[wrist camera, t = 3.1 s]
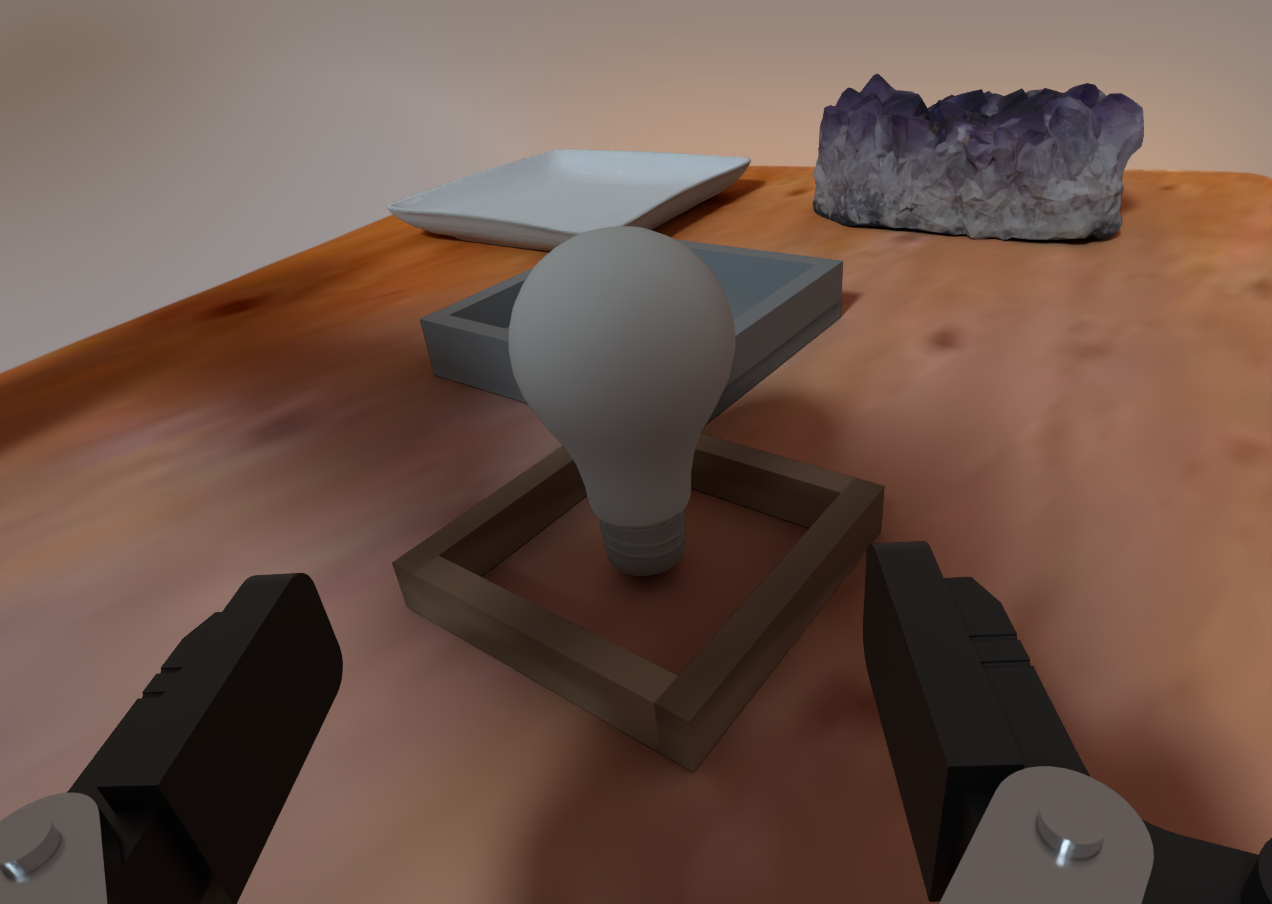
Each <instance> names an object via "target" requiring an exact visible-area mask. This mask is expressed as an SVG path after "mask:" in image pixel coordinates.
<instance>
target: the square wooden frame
mask: <svg viewBox="0 0 1272 904" xmlns="http://www.w3.org/2000/svg"><path fill="white" fill-rule="evenodd" d="M884 487H885V486H883V485H879V484H876V483H872V482H869V481H865V480H862V479H858V478H855V477H851V476H848V475H844V474H841V473H837V472H834V471H830V470H827V469H823V468H820V467H817V466H813V465H810V464H806V463H803V462H799V461H796V460H792V459H789V458H785V457H782V456H778V455H775V454H771V453H768V452H764V451H761V450H757V449H754V448H750V447H747V446H743V445H740V444H736V443H733V442H730V441H726V440H723V439H719V438H716V437H712V436H709V435H705V434H702V433H701V434H700V437H699V440H698V443H697V445H696V448H695V451H694V456H693V463H692V469H691V488H692V489H695V490H698V491H701V492H704V493H707V494H710V495H713V496H716V497H719V498H722V499H725V500H728V501H731V502H734V503H737V504H740V505H743V506H746V507H749V508H752V509H755V510H758V511H761V512H764V513H767V514H770V515H773V516H776V517H779V518H782V519H784V520H787V521H790V522H793V523H796V524H799V525H802V526H805V527H808V528H809V530H808V531H807V532H806V533H805V534H804V535H803V536H802V537H801V539H800V540H799V541H798V542H797V543H796V544H795V545H794V546H793V548H792V549H791V550H790V551H789V552H788V553H787V554H786V555H785V557H784V558H783V559H782V560H781V561H780V562H779V563H778V564H777V566H776V567H775V568H774V569H773V570H772V571H771V572H770V573H769V574H768V576H767V577H766V578H765V579H764V580H763V581H762V582H761V583H760V585H759V586H758V587H757V588H756V589H755V590H754V591H753V592H752V594H751V595H750V596H749V597H748V598H747V599H746V600H745V601H744V603H743V604H742V605H741V606H740V607H739V608H738V609H737V610H736V612H735V613H734V614H733V615H732V616H731V617H730V618H729V619H728V621H727V622H726V623H725V624H724V625H723V626H722V627H721V628H720V629H719V631H718V632H717V633H716V634H715V635H714V636H713V637H712V638H711V640H710V641H709V642H708V643H707V644H706V645H705V646H704V647H703V649H702V650H701V651H700V652H699V653H698V654H697V655H696V656H695V658H694V659H693V660H692V661H691V662H690V663H689V664H688V665H687V667H686V668H685V669H684V670H683V671H682V672H681V673H680V674H679V675H676V674H674V673H672V672H670V671H668V670H666V669H664V668H662V667H660V666H658V665H656V664H654V663H652V662H650V661H648V660H646V659H644V658H642V657H640V656H638V655H636V654H634V653H632V652H630V651H628V650H626V649H624V648H622V647H620V646H618V645H616V644H614V643H612V642H610V641H608V640H606V639H604V638H602V637H600V636H598V635H596V634H594V633H592V632H590V631H588V630H586V629H584V628H582V627H580V626H578V625H576V624H574V623H572V622H570V621H568V620H566V619H564V618H562V617H560V616H558V615H556V614H554V613H552V612H550V611H548V610H546V609H544V608H542V607H540V606H538V605H536V604H534V603H532V602H530V601H528V600H526V599H524V598H522V597H520V596H518V595H516V594H514V593H512V592H510V591H508V590H506V589H504V588H502V587H500V586H498V585H496V584H494V583H492V582H490V581H488V580H486V579H484V578H482V577H481V576H483V575H484V574H485V573H487V572H488V571H489V570H490V569H492V568H493V567H494V566H496V565H497V564H498V563H500V562H501V561H502V560H503V559H505V558H506V557H507V556H509V555H510V554H511V553H513V552H514V551H515V550H516V549H518V548H519V547H520V546H522V545H523V544H524V543H526V542H527V541H528V540H529V539H531V538H532V537H533V536H535V535H536V534H537V533H539V532H540V531H541V530H543V529H544V528H545V527H546V526H548V525H549V524H550V523H552V522H553V521H554V520H556V519H557V518H558V517H559V516H561V515H562V514H563V513H565V512H566V511H567V510H569V509H570V508H571V507H572V506H574V505H575V504H576V503H578V502H579V501H580V500H582V499H583V498H584V497H585V496H587V492H586V488H585V485H584V482H583V480H582V477H581V475H580V472H579V470H578V467H577V465H576V463H575V462H574V460H573V459H572V457H571V455H570V454H569V452H568V451H567V449H566V448H565V447H564V446H562V447H560V448H559V449H557V450H556V451H554V452H553V453H551V454H550V455H549V456H547V457H546V458H544V459H543V460H541V461H540V462H538V463H537V464H535V465H534V466H532V467H531V468H530V469H528V470H527V471H525V472H524V473H522V474H521V475H519V476H518V477H516V478H515V479H514V480H512V481H511V482H509V483H508V484H506V485H505V486H503V487H502V488H500V489H499V490H497V491H496V492H495V493H493V494H492V495H490V496H489V497H487V498H486V499H484V500H483V501H481V502H480V503H479V504H477V505H476V506H474V507H473V508H471V509H470V510H468V511H467V512H465V513H464V514H462V515H461V516H460V517H458V518H457V519H455V520H454V521H452V522H451V523H449V524H448V525H446V526H445V527H444V528H442V529H441V530H439V531H438V532H436V533H435V534H433V535H432V536H430V537H429V538H427V539H426V540H425V541H423V542H422V543H420V544H419V545H417V546H416V547H414V548H413V549H411V550H410V551H408V552H407V553H406V554H404V555H403V556H401V557H400V558H398V559H397V560H395V561H394V562H392V564H393V567H394V570H395V573H396V576H397V579H398V582H399V585H400V588H401V591H402V594H403V597H404V600H405V603H406V606H407V607H408V608H410V609H411V610H413V611H415V612H417V613H418V614H420V615H422V616H423V617H425V618H427V619H429V620H430V621H432V622H434V623H436V624H437V625H439V626H441V627H443V628H444V629H446V630H448V631H449V632H451V633H453V634H455V635H456V636H458V637H460V638H462V639H463V640H465V641H467V642H468V643H470V644H472V645H474V646H475V647H477V648H479V649H481V650H482V651H484V652H486V653H488V654H489V655H491V656H493V657H494V658H496V659H498V660H500V661H501V662H503V663H505V664H507V665H508V666H510V667H512V668H514V669H515V670H517V671H519V672H520V673H522V674H524V675H526V676H527V677H529V678H531V679H533V680H534V681H536V682H538V683H539V684H541V685H543V686H545V687H546V688H548V689H550V690H552V691H553V692H555V693H557V694H559V695H560V696H562V697H564V698H565V699H567V700H569V701H571V702H572V703H574V704H576V705H578V706H579V707H581V708H583V709H585V710H586V711H588V712H590V713H591V714H593V715H595V716H597V717H598V718H600V719H602V720H604V721H605V722H607V723H609V724H611V725H612V726H614V727H616V728H617V729H619V730H621V731H623V732H624V733H626V734H628V735H630V736H631V737H633V738H635V739H636V740H638V741H640V742H642V743H643V744H645V745H647V746H649V747H650V748H652V749H654V750H656V751H657V752H659V753H661V754H662V755H664V756H666V757H668V758H669V759H671V760H673V761H675V762H676V763H678V764H680V765H682V766H683V767H685V768H687V769H688V770H690V771H692V772H694V771H695V770H696V769H697V767H698V766H699V765H700V764H701V762H702V761H703V760H704V758H705V757H706V756H707V755H708V753H709V752H710V751H711V749H712V748H713V747H714V746H715V744H716V743H717V742H718V740H719V739H720V738H721V736H722V735H723V734H724V733H725V731H726V730H727V729H728V727H729V726H730V725H731V724H732V722H733V721H734V720H735V718H736V717H737V716H738V715H739V713H740V712H741V711H742V709H743V708H744V707H745V706H746V704H747V703H748V702H749V700H750V699H751V698H752V697H753V695H754V694H755V693H756V691H757V690H758V689H759V688H760V686H761V685H762V684H763V682H764V681H765V680H766V679H767V677H768V676H769V675H770V673H771V672H772V671H773V670H774V668H775V667H776V666H777V664H778V663H779V662H780V661H781V659H782V658H783V657H784V655H785V654H786V653H787V652H788V650H789V649H790V648H791V646H792V645H793V644H794V643H795V641H796V640H797V639H798V637H799V636H800V635H801V634H802V632H803V631H804V630H805V628H806V627H807V626H808V625H809V623H810V622H811V621H812V619H813V618H814V617H815V616H816V614H817V613H818V612H819V610H820V609H821V608H822V607H823V605H824V604H825V603H826V601H827V600H828V599H829V598H830V596H831V595H832V594H833V592H834V591H835V590H836V589H837V587H838V586H839V585H840V583H841V582H842V581H843V580H844V578H845V577H846V576H847V574H848V573H849V572H850V571H851V569H852V568H853V567H854V565H855V564H856V563H857V562H858V560H859V559H860V558H861V556H862V555H863V554H864V553H865V551H866V550H867V549H868V546H869V545H870V544H872V542H873V541H874V540H875V538H876V537H877V536H878V535H879V533H880V532H881V525H882V512H883V500H884Z"/></svg>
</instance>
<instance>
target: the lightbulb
mask: <svg viewBox="0 0 1272 904" xmlns="http://www.w3.org/2000/svg"><path fill="white" fill-rule="evenodd" d="M735 347H736V342H735V326H734V322H733V318H732V314H731V309H730V306H729V302H728V299H727V297H726V295H725V292H724V290H723V288H722V286H721V283H720V282H719V280H718V279H717V278H716V276H715V275H714V274H713V272H712V271H711V270H710V268H709V267H708V266H707V265H706V264H705V263H704V262H703V261H702V260H701V259H700V258H699V257H698V256H697V255H696V254H695V253H694V252H693V251H692V250H691V249H690V248H688V247H687V246H685V245H683V244H681V243H679V242H678V241H676V240H674V239H672V238H670V237H669V236H667V235H664V234H661V233H658V232H655V231H652V230H648V229H645V228H641V227H633V226H616V227H606V228H600V229H595V230H590V231H587V232H584V233H581V234H578V235H576V236H574V237H572V238H571V239H569V240H567V241H565V242H564V243H562V244H560V245H559V246H557V247H556V248H554V249H553V250H552V251H551V252H550V253H548V254H547V255H546V256H545V257H544V258H543V259H542V260H541V261H540V262H538V264H537V265H536V266H535V267H534V268H533V270H532V271H531V273H530V274H529V276H528V277H527V279H526V280H525V282H524V283H523V285H522V288H521V290H520V292H519V294H518V297H517V299H516V301H515V304H514V306H513V309H512V315H511V320H510V325H509V354H510V360H511V365H512V370H513V375H514V378H515V380H516V382H517V384H518V386H519V388H520V391H521V393H522V395H523V397H524V399H525V400H526V401H527V403H528V404H529V406H530V407H531V408H532V410H533V411H534V412H535V413H536V415H537V416H538V417H539V418H540V420H541V421H542V422H543V424H544V425H545V426H546V427H547V429H548V430H549V431H550V432H551V433H552V434H553V435H554V436H555V437H556V438H557V439H558V440H559V441H560V443H561V444H562V445H563V446H564V447H565V448H566V449H567V451H568V452H569V454H570V455H571V457H572V459H573V460H574V462H575V463H576V465H577V467H578V470H579V472H580V475H581V477H582V480H583V482H584V485H585V488H586V492H587V497H588V501H589V505H590V507H591V509H592V511H593V512H594V514H595V515H596V516H597V517H598V518H599V520H600V527H601V531H602V537H603V541H604V543H605V544H604V546H605V550H606V553H607V556H608V559H609V561H610V563H611V564H612V565H613V566H614V567H615V568H617V569H618V570H620V571H622V572H624V573H626V574H629V575H634V576H652V575H657V574H660V573H663V572H665V571H667V570H669V569H670V568H672V567H673V566H674V565H675V564H676V563H677V562H678V561H679V560H680V559H681V558H682V556H683V554H684V550H685V535H686V533H685V517H684V509H685V507H686V506H687V504H688V502H689V499H690V495H691V469H692V463H693V456H694V451H695V448H696V445H697V443H698V440H699V437H700V434H701V431H702V430H703V428H704V426H705V425H706V423H707V421H708V419H709V418H710V416H711V414H712V413H713V411H714V409H715V407H716V405H717V403H718V401H719V399H720V397H721V395H722V393H723V390H724V388H725V386H726V384H727V382H728V380H729V376H730V372H731V367H732V362H733V357H734V352H735Z"/></svg>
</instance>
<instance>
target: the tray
mask: <svg viewBox="0 0 1272 904" xmlns="http://www.w3.org/2000/svg"><path fill="white" fill-rule="evenodd" d="M676 241H678V242H679V243H681V244H683V245H685V246H687V247H688V248H690V249H691V250H692V251H693V252H694V253H695V254H696V255H697V256H698V257H699V258H700V259H701V260H702V261H703V262H704V263H705V264H706V265H707V266H708V267H709V268H710V270H711V271H712V272H713V274H714V275H715V276H716V278H717V279H718V280H719V282H720V283H721V286H722V288H723V290H724V292H725V295H726V297H727V299H728V302H729V306H730V309H731V314H732V318H733V322H734V326H735V342H736V347H735V352H734V357H733V362H732V367H731V372H730V376H729V380H728V382H727V384H726V386H725V388H724V390H723V393H722V395H721V397H720V399H719V401H718V403H717V405H716V407H715V409H714V411H713V413H712V414H711V416H710V418H709V419H708V421H707V423H708V422H710V421H711V420H712V419H714V418H715V417H716V416H717V415H719V414H720V413H721V412H722V411H724V410H725V409H726V408H727V407H729V406H730V405H731V404H732V403H734V402H735V401H736V400H737V399H739V398H740V397H741V396H742V395H744V394H745V393H746V392H747V391H749V390H750V389H751V388H752V387H754V386H755V385H756V384H757V383H759V382H760V381H761V380H762V379H764V378H765V377H766V376H767V375H769V374H770V373H771V372H772V371H774V370H775V369H776V368H777V367H779V366H780V365H781V364H782V363H784V362H785V361H786V360H787V359H789V358H790V357H791V356H792V355H794V354H795V353H796V352H797V351H799V350H800V349H801V348H802V347H804V346H805V345H806V344H807V343H809V342H810V341H811V340H812V339H814V338H815V337H816V336H817V335H819V334H820V333H821V332H822V331H824V330H825V329H826V328H827V327H829V326H830V325H831V324H832V323H834V322H835V321H836V320H837V319H839V318H840V317H841V301H842V275H843V261H840V260H832V259H824V258H816V257H809V256H801V255H793V254H785V253H777V252H769V251H761V250H753V249H745V248H737V247H730V246H722V245H714V244H706V243H698V242H690V241H682V240H676ZM532 270H533V268H532V269H529V270H527V271H525V272H523V273H521V274H518V275H516V276H514V277H512V278H510V279H507V280H505V281H503V282H501V283H499V284H496V285H494V286H492V287H490V288H488V289H485V290H483V291H481V292H479V293H476V294H474V295H472V296H470V297H468V298H465V299H463V300H461V301H459V302H457V303H454V304H452V305H450V306H448V307H446V308H443V309H441V310H439V311H437V312H435V313H432V314H430V315H428V316H426V317H423V318H421V319H420V322H421V326H422V330H423V334H424V338H425V342H426V346H427V350H428V354H429V358H430V362H431V365H432V369H433V373H434V375H437V376H440V377H443V378H446V379H450V380H453V381H456V382H459V383H463V384H466V385H469V386H472V387H476V388H479V389H482V390H485V391H489V392H492V393H495V394H499V395H502V396H505V397H508V398H512V399H515V400H518V401H521V402H525V403H527V401H526V400H525V399H524V397H523V395H522V393H521V391H520V388H519V386H518V384H517V382H516V380H515V378H514V375H513V370H512V365H511V360H510V354H509V325H510V320H511V315H512V309H513V306H514V304H515V301H516V299H517V297H518V294H519V292H520V290H521V288H522V285H523V283H524V282H525V280H526V279H527V277H528V276H529V274H530V273H531V271H532ZM707 423H706V424H707Z"/></svg>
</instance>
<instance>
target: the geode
mask: <svg viewBox="0 0 1272 904" xmlns="http://www.w3.org/2000/svg"><path fill="white" fill-rule="evenodd" d="M1143 137H1144V120H1143V109H1142V107H1141V106H1139V105H1138V104H1137V103H1136V102H1134V101H1133V100H1131V99H1130V98H1129V97H1127V96H1125V95H1123V94H1121V93H1120V94H1119V93H1117V94H1109V95H1107V96H1106V95H1105V94H1104V93H1103V92H1102V91H1100V90H1099V89H1098V88H1097V87H1096V86H1095V85H1093V84H1089V83H1086V84H1082V85H1079V86H1075V87H1073V88H1071V89H1069V90H1068V91H1067V92H1066V93H1060V92H1057V91H1054V90H1051V89H1047V88H1044V89H1043V90H1031V91H1028V92H1026V93H1025V92H1024V90H1023V89H1020V90H1018V91H1015V92H1013V93H1011V94H1008V95H1006V96H1002V95H999V94H995V93H994V94H992V93H991V92H989V91H988V92H986V93H983V91H982V89H981V90H976V91H971V92H967V93H963V94H960V95H957V96H953V95H950V96H948V97H946V98H944V99H943V100H939V101H938V102H937V103H936V104H934V105H932V106H931V107H929V108H927V107H926V105H925V103H924V102H923V100H922V98H921V97H920V95H919V94H915V93H913V92H909V91H900V90H895V89H894V88H892V87H891V86H890V85H889V84H888V83H887V82H886V81H885V80H884V79H883V78H882V77H881V76H880V75H879V74H875V75H874V76H873V77H872V78H871V79H870V81H869V82H868V83H867V84H866V86H865V87H864V88H863V89H862V91H861V92H860V93H859V92H857V91H856V90H854V89H852V88H847V89H846V90H845V91H844V92H843V93H842V94H841V97H840V98H839V100H838V102H837V104H836V106H831V105H830V106H827V107H825V108H824V114H823V119H822V122H821V125H820V136H819V148H818V149H819V156H818V160H817V163H816V168H815V170H814V172H813V174H814V178H815V181H816V190H815V197H814V201H813V208H814V211H815V212H816V213H817V214H818V215H820V216H822V217H824V218H827V219H829V220H832V221H835V222H837V223H839V224H842V225H847V226H858V225H865V226H880V227H886V228H910V229H915V230H921V231H928V232H939V233H945V234H950V235H968V236H969V237H971V238H974V239H980V240H982V239H986V238H996V239H1001V240H1007V239H1010V238H1013V237H1015V238H1020V239H1033V240H1060V239H1082V238H1086V237H1088V238H1097V239H1101V238H1109V237H1111V236H1112V235H1113V234H1115V233H1116V232H1117V230H1118V229H1119V228H1120V226H1121V221H1122V217H1121V214H1120V206H1121V195H1122V193H1123V190H1124V184H1123V182H1122V176H1123V172H1124V169H1125V166H1126V164H1127V161H1128V160H1129V158H1130V157H1131V155H1132V154H1133V153H1134V152H1136V151H1137V150H1138V149H1139V148H1140V147H1141V146H1142V142H1143Z"/></svg>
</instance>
